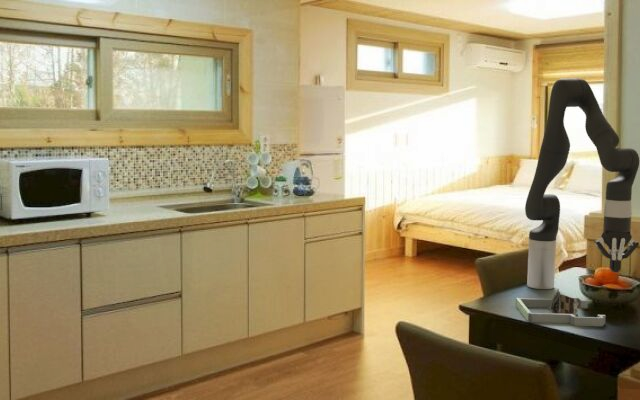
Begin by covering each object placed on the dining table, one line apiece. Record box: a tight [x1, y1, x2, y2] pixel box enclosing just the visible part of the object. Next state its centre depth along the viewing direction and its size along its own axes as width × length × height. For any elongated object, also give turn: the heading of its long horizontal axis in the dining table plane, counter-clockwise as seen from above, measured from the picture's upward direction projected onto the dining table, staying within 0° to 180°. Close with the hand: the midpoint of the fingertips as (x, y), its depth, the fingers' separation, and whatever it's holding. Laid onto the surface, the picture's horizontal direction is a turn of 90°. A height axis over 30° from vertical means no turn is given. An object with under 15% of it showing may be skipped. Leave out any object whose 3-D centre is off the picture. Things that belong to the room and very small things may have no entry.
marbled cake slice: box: [548, 288, 579, 317], centre depth 208 cm, size 10×7×12 cm
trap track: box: [515, 297, 606, 327], centre depth 207 cm, size 23×22×2 cm
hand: (614, 271), depth 204 cm, fingers closed
